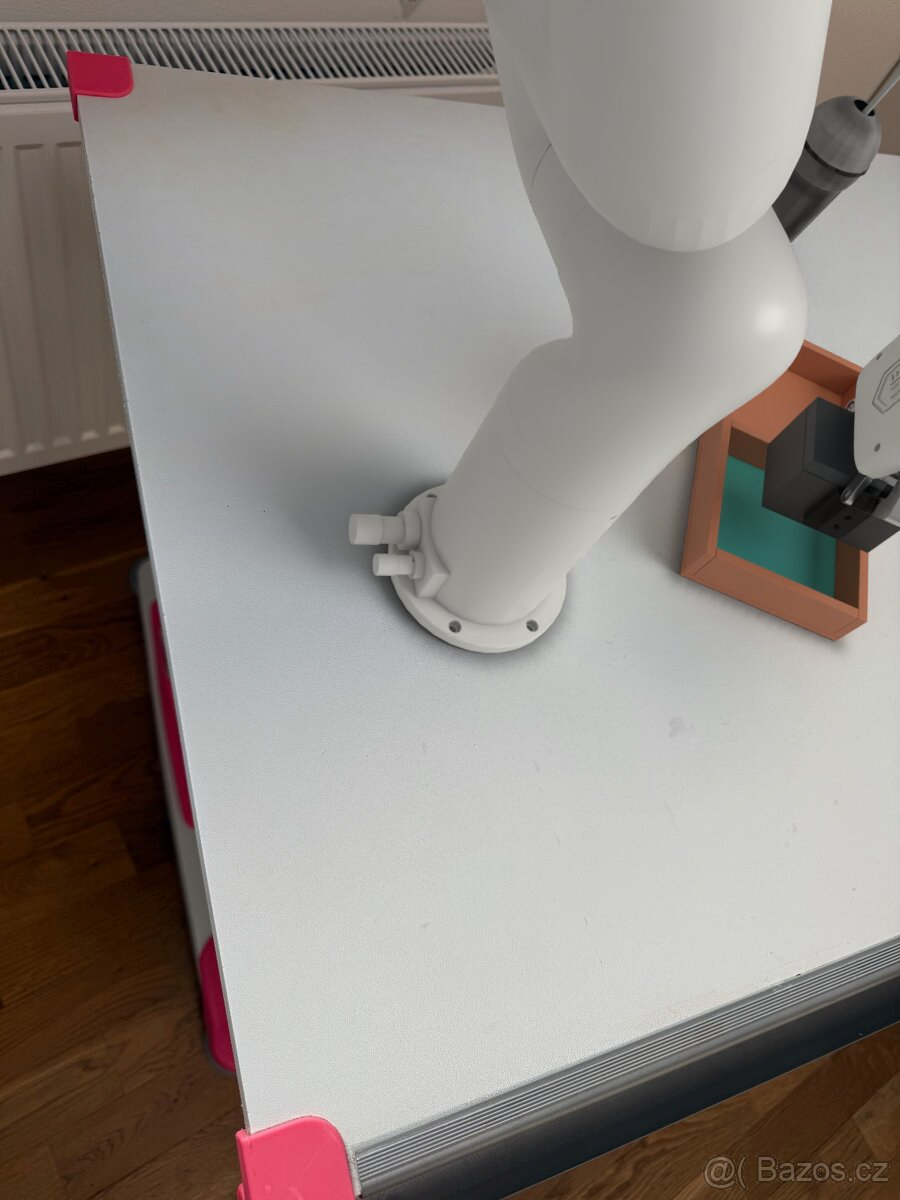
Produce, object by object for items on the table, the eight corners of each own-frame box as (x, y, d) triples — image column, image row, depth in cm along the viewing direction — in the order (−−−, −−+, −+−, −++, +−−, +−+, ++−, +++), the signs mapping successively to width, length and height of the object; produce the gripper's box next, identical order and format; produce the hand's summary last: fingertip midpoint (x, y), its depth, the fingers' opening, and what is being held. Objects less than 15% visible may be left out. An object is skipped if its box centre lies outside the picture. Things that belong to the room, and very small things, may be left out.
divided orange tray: (679, 575, 72) (706, 551, 69) (714, 334, 86) (737, 306, 83) (835, 641, 74) (867, 621, 71) (844, 396, 88) (872, 371, 85)
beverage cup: (785, 231, 96) (934, 48, 80) (790, 283, 93) (948, 102, 76) (721, 207, 95) (860, 13, 78) (724, 258, 91) (870, 67, 74)
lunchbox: (760, 506, 69) (813, 459, 64) (767, 444, 73) (817, 395, 67) (867, 553, 71) (927, 511, 66) (869, 490, 74) (926, 446, 69)
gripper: (962, 206, 60) (785, 388, 75) (973, 407, 51) (769, 567, 66) (1062, 257, 61) (868, 426, 76) (1090, 463, 52) (863, 608, 67)
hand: (823, 490), depth 71 cm, fingers closed on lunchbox, 6 cm apart
